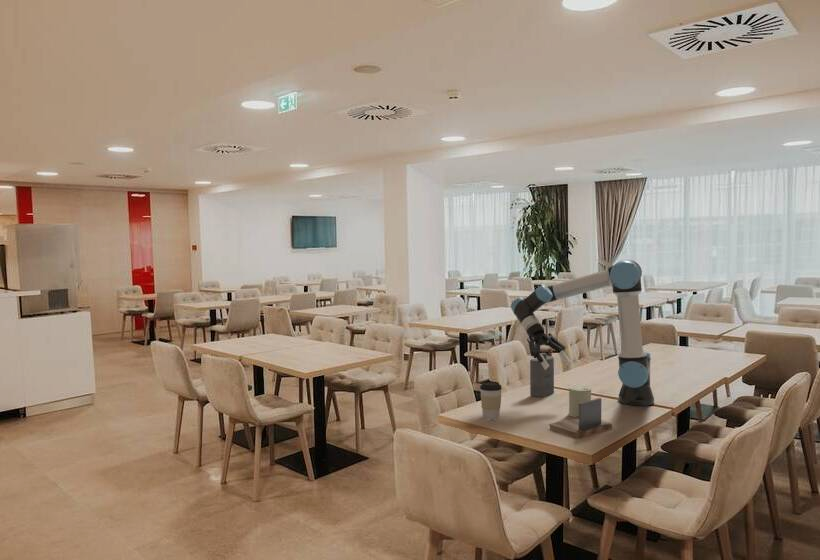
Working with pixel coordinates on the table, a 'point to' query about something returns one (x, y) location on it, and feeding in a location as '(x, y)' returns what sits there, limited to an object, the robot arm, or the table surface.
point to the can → (578, 398)
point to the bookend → (590, 415)
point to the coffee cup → (490, 399)
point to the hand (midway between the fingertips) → (558, 366)
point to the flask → (541, 377)
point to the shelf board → (576, 427)
